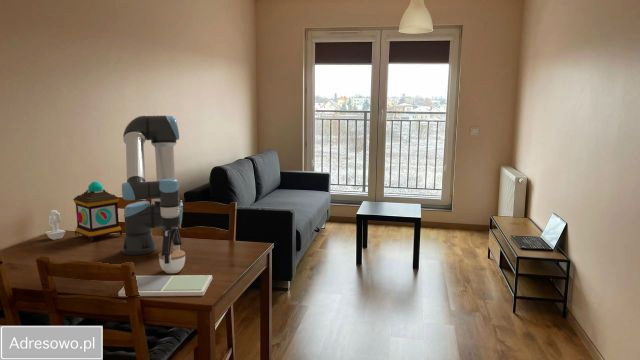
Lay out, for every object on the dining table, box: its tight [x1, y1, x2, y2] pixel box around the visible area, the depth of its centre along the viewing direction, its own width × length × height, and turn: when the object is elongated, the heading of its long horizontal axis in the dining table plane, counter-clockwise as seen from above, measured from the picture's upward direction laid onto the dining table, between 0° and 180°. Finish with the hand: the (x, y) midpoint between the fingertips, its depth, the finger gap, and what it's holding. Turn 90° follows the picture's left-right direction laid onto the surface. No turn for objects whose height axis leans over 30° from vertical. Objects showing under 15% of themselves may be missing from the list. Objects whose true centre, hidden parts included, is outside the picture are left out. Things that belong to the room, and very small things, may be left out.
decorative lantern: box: [72, 180, 123, 243], centre depth 248 cm, size 20×20×30 cm
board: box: [118, 274, 213, 297], centre depth 181 cm, size 31×17×2 cm, turn 92°
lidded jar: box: [158, 248, 186, 274], centre depth 198 cm, size 11×11×9 cm
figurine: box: [44, 209, 66, 241], centre depth 246 cm, size 7×9×15 cm
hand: (172, 265), depth 198 cm, fingers open, 13 cm apart
